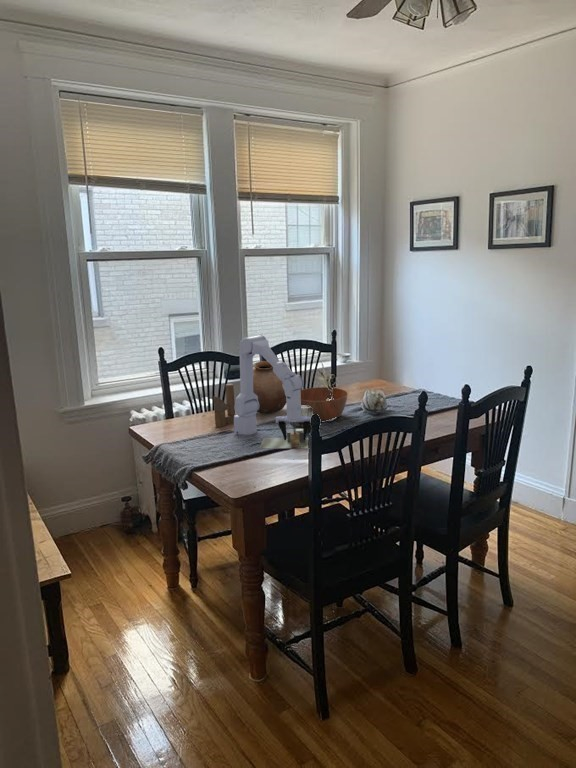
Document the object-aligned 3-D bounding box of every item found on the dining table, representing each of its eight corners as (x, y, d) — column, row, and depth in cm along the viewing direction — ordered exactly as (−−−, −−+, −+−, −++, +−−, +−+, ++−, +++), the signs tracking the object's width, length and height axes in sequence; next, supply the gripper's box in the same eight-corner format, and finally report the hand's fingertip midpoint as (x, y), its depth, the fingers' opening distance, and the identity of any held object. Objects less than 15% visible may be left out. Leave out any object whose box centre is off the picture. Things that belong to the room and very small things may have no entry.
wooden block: (215, 426, 258) (212, 387, 254) (232, 420, 266) (229, 382, 262) (220, 427, 256) (218, 389, 252) (237, 421, 264) (235, 383, 260)
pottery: (267, 403, 292) (264, 355, 286) (300, 411, 276) (298, 360, 270) (233, 413, 276) (230, 363, 270) (266, 422, 260) (263, 369, 254)
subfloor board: (259, 451, 225) (259, 448, 225) (264, 440, 237) (263, 438, 236) (309, 451, 223) (309, 448, 222) (312, 440, 234) (311, 438, 234)
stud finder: (287, 442, 230) (287, 431, 229) (288, 438, 234) (288, 428, 233) (304, 442, 229) (304, 431, 228) (305, 438, 234) (305, 428, 233)
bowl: (351, 410, 274) (350, 387, 271) (344, 427, 250) (344, 401, 247) (300, 409, 279) (299, 386, 277) (289, 425, 256) (288, 400, 253)
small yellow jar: (290, 447, 224) (289, 430, 223) (291, 444, 228) (290, 427, 226) (299, 447, 224) (298, 430, 222) (300, 444, 227) (299, 427, 226)
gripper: (274, 409, 219) (275, 442, 222) (311, 409, 217) (312, 442, 221) (276, 404, 226) (277, 436, 229) (312, 404, 224) (313, 436, 227)
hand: (295, 439), depth 225 cm, fingers open, 7 cm apart
